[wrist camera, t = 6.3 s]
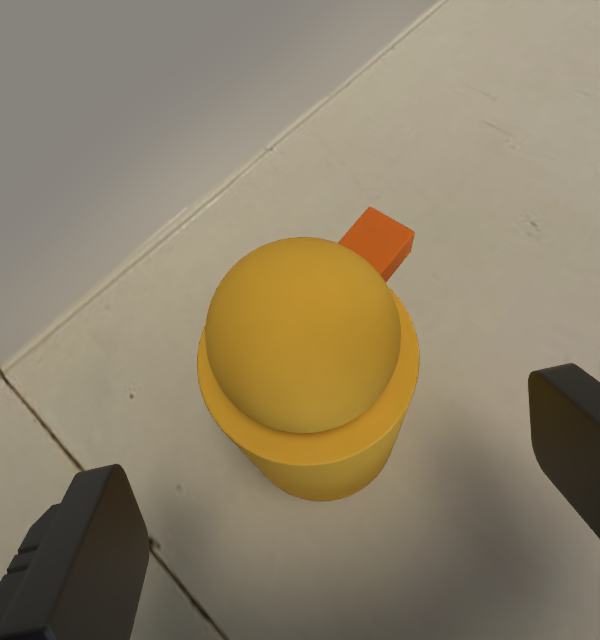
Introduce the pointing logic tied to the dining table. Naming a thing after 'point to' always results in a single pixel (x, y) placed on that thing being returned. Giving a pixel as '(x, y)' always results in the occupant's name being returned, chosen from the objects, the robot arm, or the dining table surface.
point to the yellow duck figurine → (313, 357)
